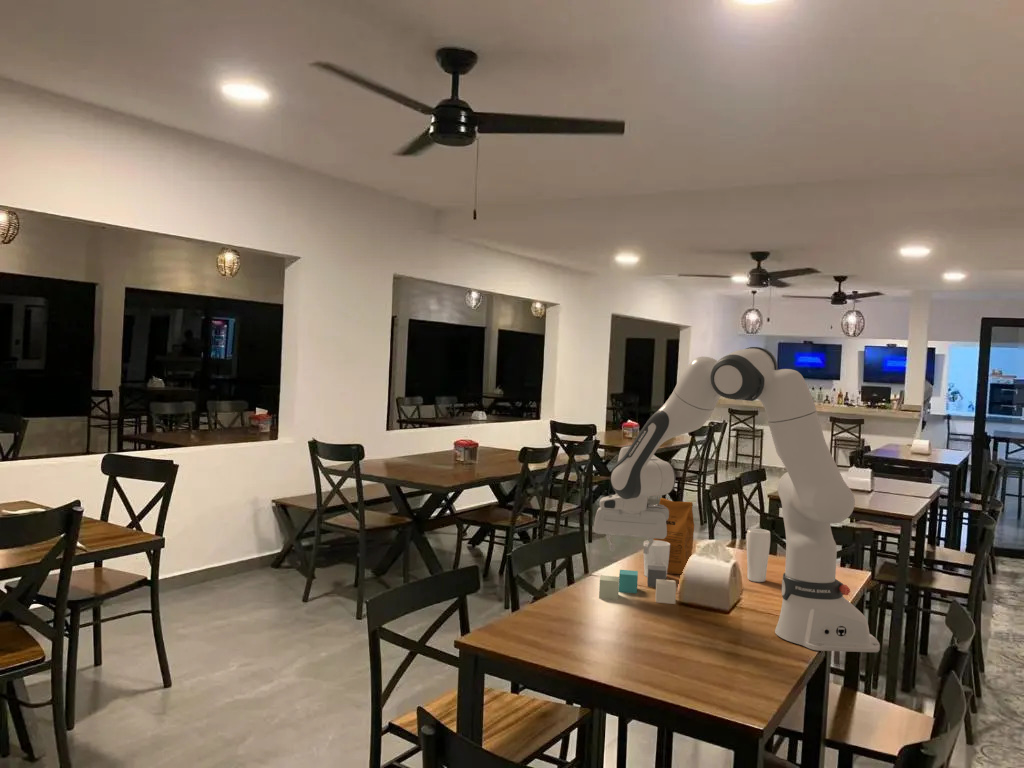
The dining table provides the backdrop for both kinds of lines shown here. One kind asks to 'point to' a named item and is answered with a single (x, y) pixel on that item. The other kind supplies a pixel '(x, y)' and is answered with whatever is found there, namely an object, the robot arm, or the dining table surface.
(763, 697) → the dining table surface
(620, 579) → the teal cube
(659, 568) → the charcoal cube
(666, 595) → the cream cube
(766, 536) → the drinking glass
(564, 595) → the dining table surface
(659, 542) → the white cup
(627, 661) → the dining table surface
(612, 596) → the sage cube
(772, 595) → the dining table surface
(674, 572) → the coffee package
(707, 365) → the robot arm
